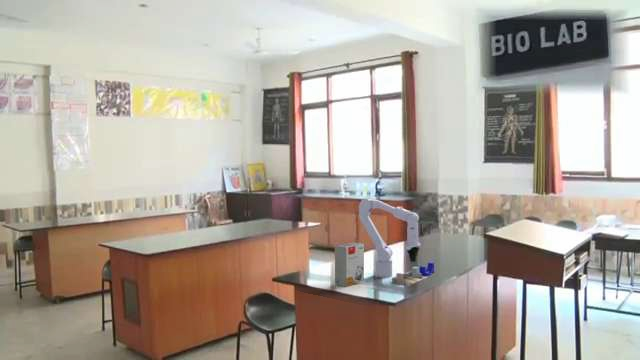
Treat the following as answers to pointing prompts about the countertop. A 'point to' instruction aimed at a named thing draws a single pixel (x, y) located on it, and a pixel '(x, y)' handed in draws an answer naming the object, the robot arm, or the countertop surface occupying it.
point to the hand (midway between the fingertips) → (413, 261)
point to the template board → (406, 278)
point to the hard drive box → (349, 264)
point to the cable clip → (429, 269)
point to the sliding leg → (415, 272)
